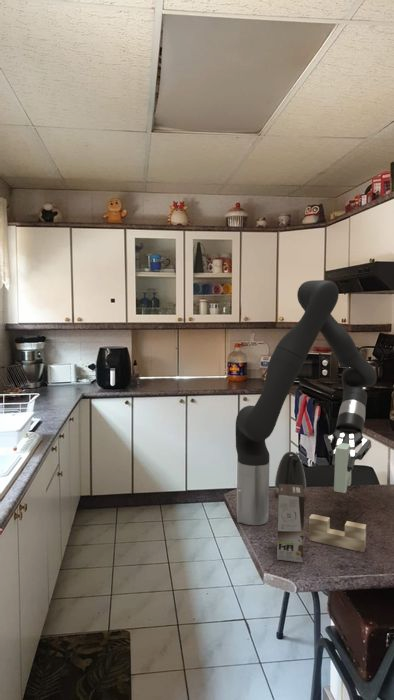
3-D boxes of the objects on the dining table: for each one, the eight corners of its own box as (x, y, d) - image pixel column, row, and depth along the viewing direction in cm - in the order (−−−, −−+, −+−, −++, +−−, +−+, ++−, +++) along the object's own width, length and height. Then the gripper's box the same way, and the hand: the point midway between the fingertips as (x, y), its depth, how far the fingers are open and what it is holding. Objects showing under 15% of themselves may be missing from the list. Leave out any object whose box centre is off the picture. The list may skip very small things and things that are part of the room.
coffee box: (303, 563, 111) (305, 496, 110) (276, 560, 112) (277, 494, 112) (302, 546, 120) (304, 484, 119) (277, 543, 121) (278, 482, 121)
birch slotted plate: (308, 540, 123) (309, 517, 123) (311, 535, 126) (311, 513, 126) (363, 552, 117) (364, 528, 117) (365, 547, 120) (366, 524, 119)
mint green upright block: (345, 493, 126) (346, 449, 126) (333, 491, 128) (335, 448, 127) (350, 483, 134) (352, 442, 134) (340, 482, 136) (341, 441, 135)
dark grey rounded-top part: (283, 503, 149) (284, 457, 149) (269, 492, 159) (270, 449, 159) (311, 500, 152) (312, 455, 152) (296, 490, 162) (297, 447, 162)
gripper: (325, 408, 140) (314, 458, 130) (375, 413, 133) (367, 466, 123) (329, 423, 145) (318, 472, 134) (376, 428, 138) (369, 480, 128)
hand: (342, 469), depth 129 cm, fingers closed on mint green upright block, 3 cm apart
